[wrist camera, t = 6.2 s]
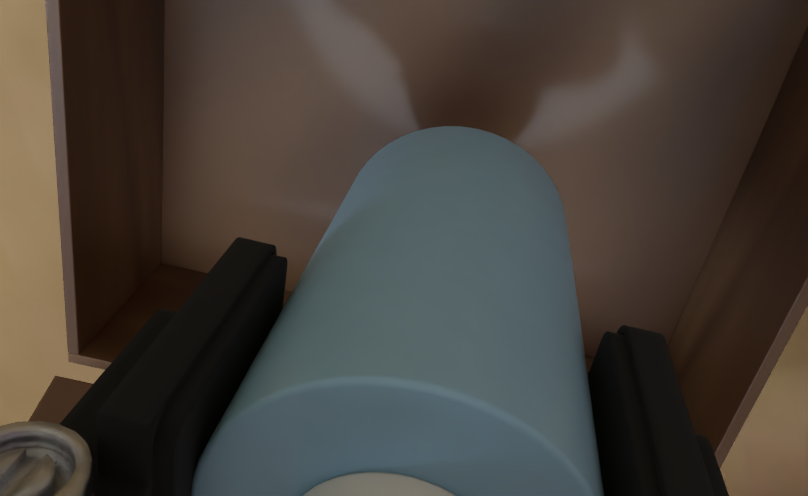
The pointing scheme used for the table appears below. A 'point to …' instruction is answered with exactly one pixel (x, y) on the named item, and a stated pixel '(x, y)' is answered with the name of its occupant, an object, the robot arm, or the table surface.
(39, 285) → the table surface
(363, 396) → the bottle
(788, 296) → the wooden box
